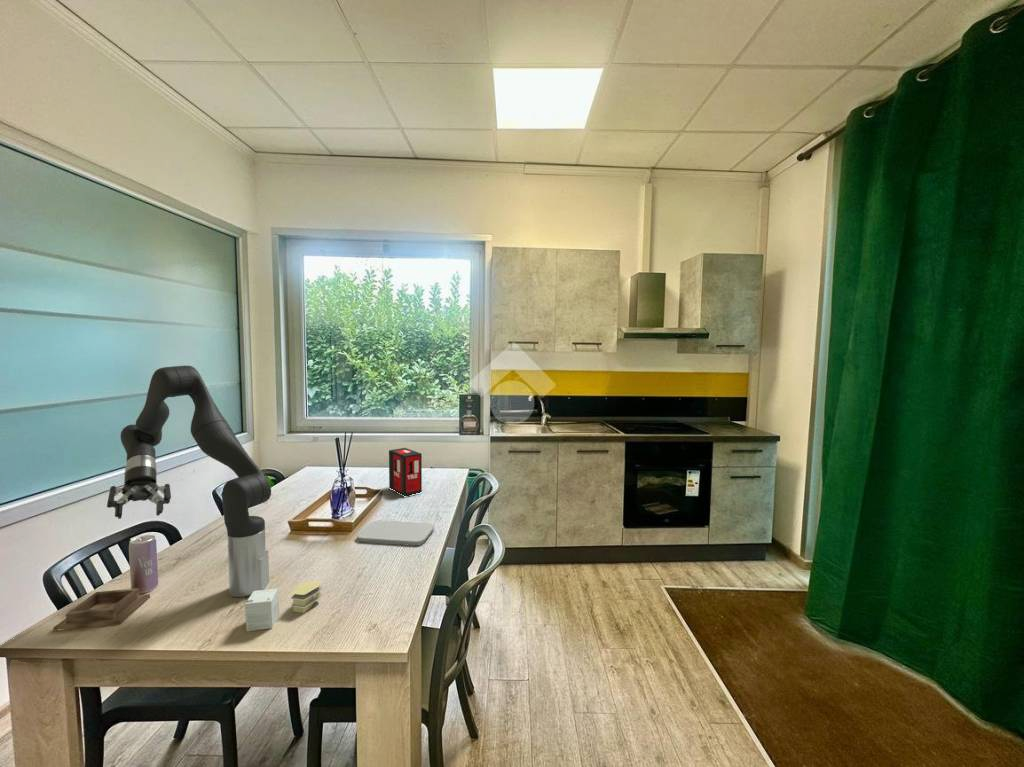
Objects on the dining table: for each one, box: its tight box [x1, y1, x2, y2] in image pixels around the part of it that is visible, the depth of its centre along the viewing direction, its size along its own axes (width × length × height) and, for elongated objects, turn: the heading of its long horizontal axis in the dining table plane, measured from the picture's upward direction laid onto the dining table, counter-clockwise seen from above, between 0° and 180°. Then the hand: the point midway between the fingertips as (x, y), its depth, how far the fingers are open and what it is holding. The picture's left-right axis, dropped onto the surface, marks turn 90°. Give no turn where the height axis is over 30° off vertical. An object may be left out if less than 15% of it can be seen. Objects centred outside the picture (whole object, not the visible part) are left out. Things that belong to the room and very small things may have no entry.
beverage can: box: [128, 534, 159, 595], centre depth 122 cm, size 6×6×15 cm
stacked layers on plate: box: [290, 580, 323, 614], centre depth 116 cm, size 10×9×6 cm
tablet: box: [356, 519, 435, 546], centre depth 161 cm, size 16×26×2 cm, turn 83°
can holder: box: [53, 588, 151, 631], centre depth 111 cm, size 14×12×4 cm
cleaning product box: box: [388, 447, 423, 497], centre depth 212 cm, size 16×9×20 cm, turn 43°
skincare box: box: [244, 588, 281, 632], centre depth 108 cm, size 6×6×7 cm
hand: (139, 515), depth 124 cm, fingers open, 8 cm apart
